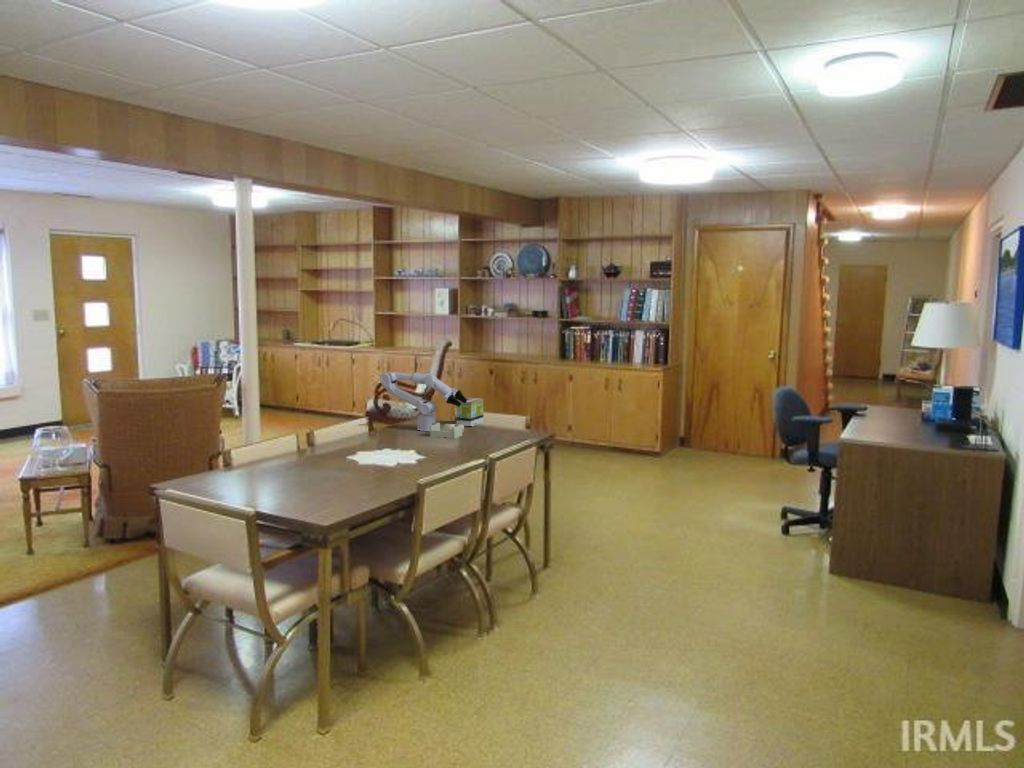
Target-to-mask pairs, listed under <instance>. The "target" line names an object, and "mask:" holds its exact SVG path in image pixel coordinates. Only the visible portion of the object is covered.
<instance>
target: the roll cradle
mask: <svg viewBox="0 0 1024 768" xmlns="http://www.w3.org/2000/svg"><path fill="white" fill-rule="evenodd" d="M455 424H456V425H454V427H452V432H451V431H444V430H441V423H440V422H435V423H432V425H430V426H429V428H430V431H429V437H430V436H435V437H434V438H438V437H446V438H445V439H450V438H455V439H457V437H458V438H460V437H462V436H463V434H462V424H460V425H458V424H457V423H455ZM459 436H460V437H459Z"/></svg>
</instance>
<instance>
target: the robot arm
mask: <svg viewBox="0 0 1024 768" xmlns="http://www.w3.org/2000/svg"><path fill="white" fill-rule="evenodd" d="M379 380H380V385H381V386H383V387H384V389H386V391H387V392H388V394H390V395H392V396H393V397H396V398H397V399H399V400H402V401H403V402H405V403H407V404H410V405H411V406H414V407H415V408H416V410H418V411H419V412H420V413H419V414H418V415H417V420H416V421H417V429H416V431H417V430H420V431H419V432H430V428H429V426H430V425H432V423H436V410H437V408H438V407H437V404H436V402H435V401H433V400H427V399H422V398H420V397H418V396H416V395H414V394H412V393H410V392H408V391H406V390H404V389H402V388H401V387H398V380H405V381H411V382H412V383H413V384H419V385H425V386H427V387H431V388H432V389H433V390H435V391H436V392H437V393H439V394H440V395H441V396H443V400H444V401H446V402H445V403H447V404H448V405H449V404H451V405H453V406H456V407H457V406H458V407H460V405H461V403H460V402H459V401H458V400H460V401H461V402H463V403H466V401H467V399H466V397H465V396H464V395H463V393H462V391H461V390H460V389H455V388H454V387H449V386H448V385H447V384H446V383H445V382H443V381H441V380H440V379H439V378H438V377H437V376H436V375H435V374H433V373H430V374H428V373H421V372H420V371H417V372H414V373H413V374H411V373H405V372H401V371H388V372H384V373H382V374H381V375H380V376H379Z"/></svg>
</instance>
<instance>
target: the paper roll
mask: <svg viewBox="0 0 1024 768" xmlns="http://www.w3.org/2000/svg"><path fill="white" fill-rule="evenodd" d="M456 424H457V423H454V424H453V423H445V424H444V426H443V431H451V432H452V427H454V425H456ZM464 432H465V427H464V426H463V425H462V433H463V434H464Z"/></svg>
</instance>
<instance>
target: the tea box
mask: <svg viewBox="0 0 1024 768" xmlns="http://www.w3.org/2000/svg"><path fill="white" fill-rule="evenodd" d="M465 398H466V397H465ZM466 399H467V401H466V403H463V402H461V401H460V400H458V401H459V402H460V403H461V405H460V407H458V406H456V424H458V425H460V424H462V425H463V426H472V427H474V426H477V425H482V424H484V401H485V400H484V398H482V397H481V398H479V397H478V398H477V397H467V398H466Z"/></svg>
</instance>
